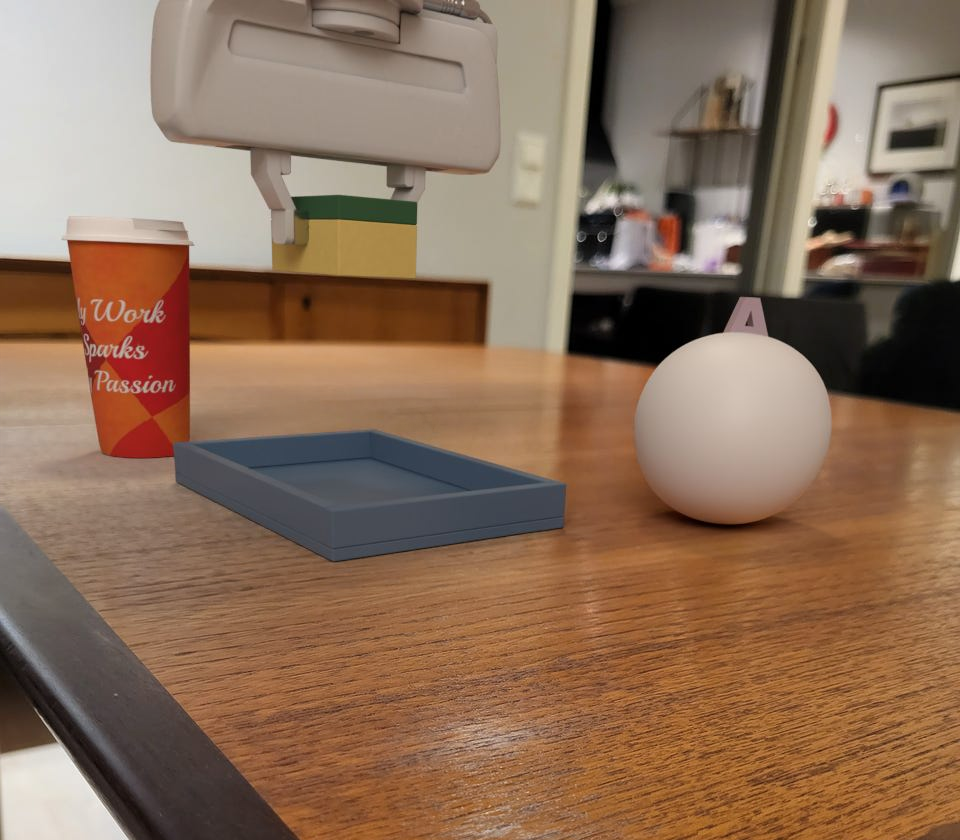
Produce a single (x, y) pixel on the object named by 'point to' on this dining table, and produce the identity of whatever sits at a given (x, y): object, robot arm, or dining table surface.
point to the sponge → (353, 238)
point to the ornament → (733, 424)
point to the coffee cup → (134, 329)
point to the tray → (367, 491)
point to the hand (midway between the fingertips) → (340, 248)
